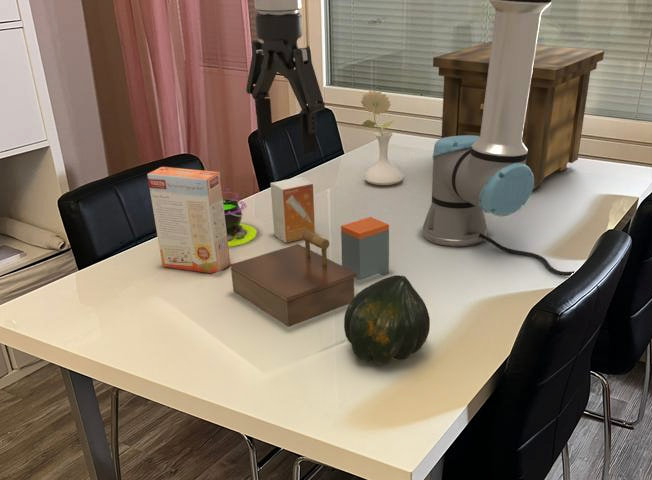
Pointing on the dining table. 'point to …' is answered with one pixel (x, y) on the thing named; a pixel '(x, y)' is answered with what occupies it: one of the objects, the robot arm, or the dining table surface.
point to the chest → (298, 307)
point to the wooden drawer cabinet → (542, 108)
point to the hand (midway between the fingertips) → (286, 143)
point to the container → (365, 247)
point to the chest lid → (295, 269)
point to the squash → (387, 321)
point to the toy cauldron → (236, 223)
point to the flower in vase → (380, 142)
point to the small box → (292, 208)
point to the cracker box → (189, 219)
